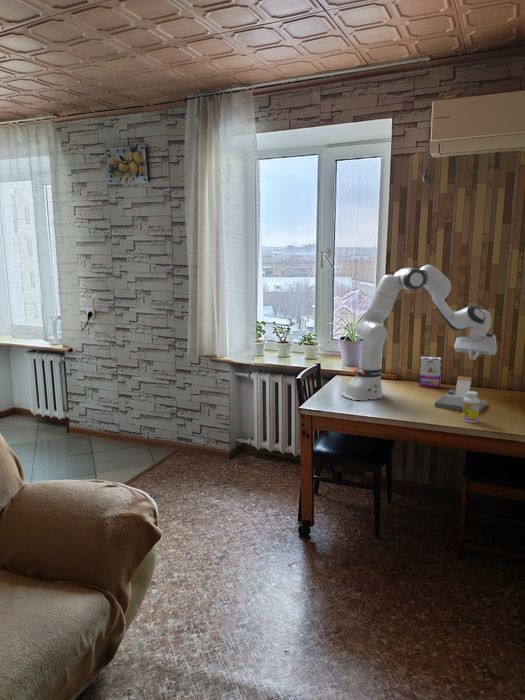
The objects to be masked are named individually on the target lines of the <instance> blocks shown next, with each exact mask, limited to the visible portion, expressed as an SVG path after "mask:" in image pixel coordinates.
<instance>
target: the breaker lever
mask: <svg viewBox="0 0 525 700" xmlns="http://www.w3.org/2000/svg"><path fill="white" fill-rule="evenodd" d="M472 379H473V377H469V376H461V375H458V376H457V381H456V385H455V395H456V396H463V397H466V392H467V391H471V385H472Z"/></svg>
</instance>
